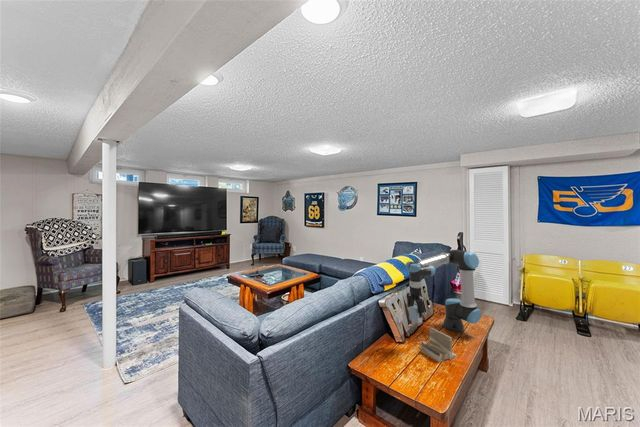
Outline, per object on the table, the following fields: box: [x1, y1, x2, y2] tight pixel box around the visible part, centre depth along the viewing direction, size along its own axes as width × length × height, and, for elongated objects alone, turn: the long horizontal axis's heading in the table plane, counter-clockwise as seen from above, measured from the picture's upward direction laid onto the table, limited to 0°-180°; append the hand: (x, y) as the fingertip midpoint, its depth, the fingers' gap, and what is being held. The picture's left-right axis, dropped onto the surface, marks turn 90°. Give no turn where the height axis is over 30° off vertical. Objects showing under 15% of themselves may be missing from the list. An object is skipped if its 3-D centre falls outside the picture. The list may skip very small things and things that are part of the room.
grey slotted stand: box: [421, 327, 458, 363], centre depth 171 cm, size 16×16×14 cm
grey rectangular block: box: [408, 304, 423, 324], centre depth 177 cm, size 6×6×9 cm
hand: (415, 319), depth 177 cm, fingers closed on grey rectangular block, 6 cm apart
